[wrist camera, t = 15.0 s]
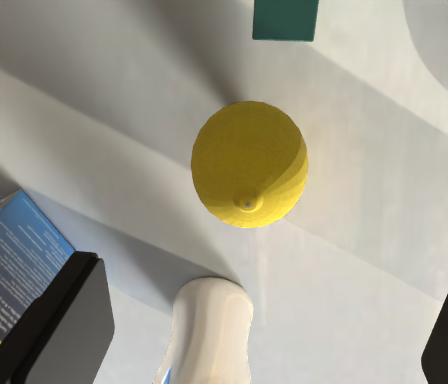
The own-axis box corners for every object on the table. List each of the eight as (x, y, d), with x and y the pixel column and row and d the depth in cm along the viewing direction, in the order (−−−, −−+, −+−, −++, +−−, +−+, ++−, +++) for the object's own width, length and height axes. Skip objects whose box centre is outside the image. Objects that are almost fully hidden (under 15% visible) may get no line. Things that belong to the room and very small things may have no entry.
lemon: (196, 167, 23) (171, 248, 16) (209, 76, 20) (185, 124, 13) (285, 183, 23) (299, 270, 16) (310, 94, 20) (340, 152, 13)
